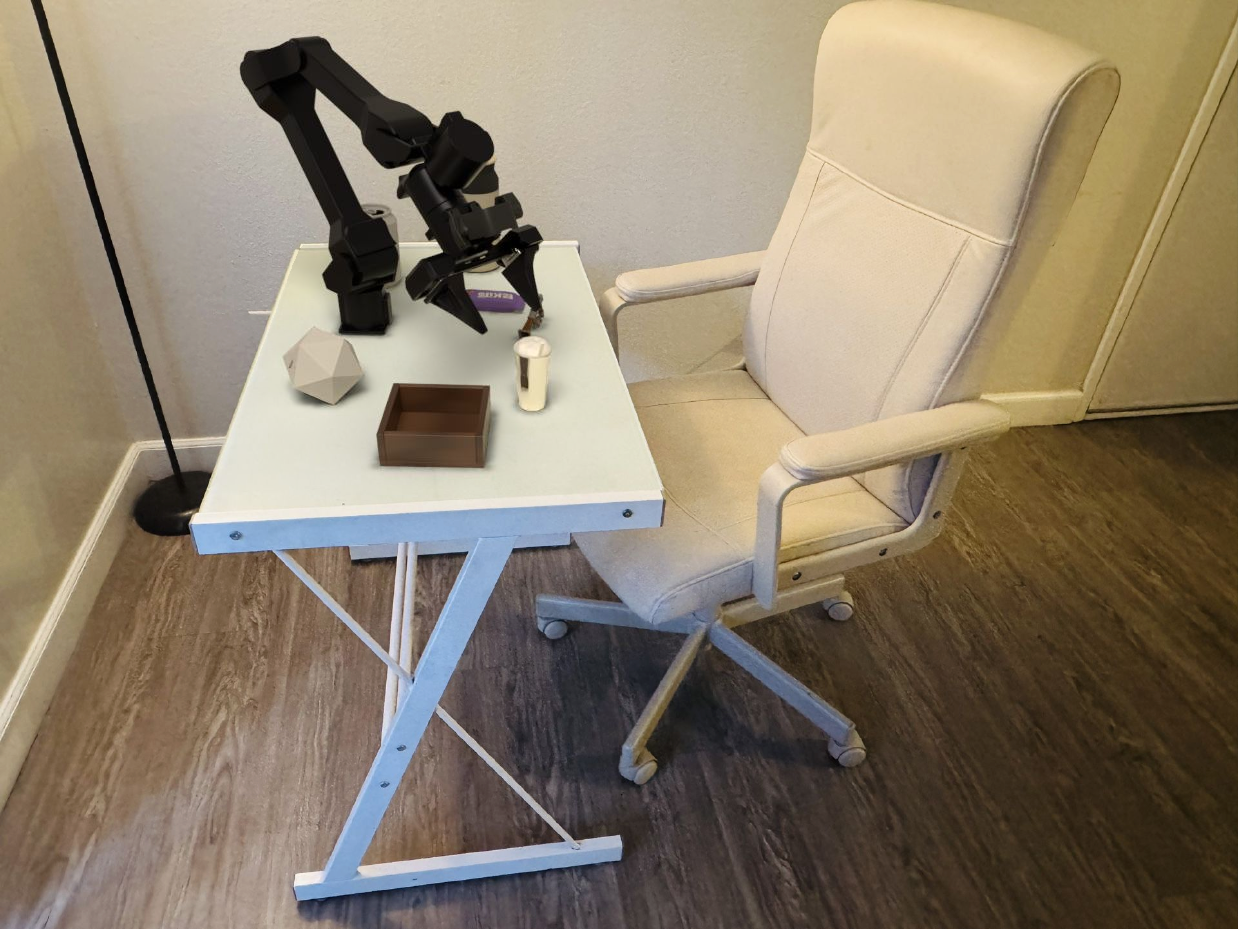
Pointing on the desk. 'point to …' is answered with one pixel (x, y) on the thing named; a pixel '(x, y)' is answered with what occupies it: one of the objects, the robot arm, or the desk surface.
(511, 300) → the snack package
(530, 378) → the milkshake
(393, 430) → the open box
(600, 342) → the desk surface
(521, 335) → the wooden post with brackets
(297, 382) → the die
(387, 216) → the can
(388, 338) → the desk surface
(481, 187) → the travel mug
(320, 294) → the desk surface
